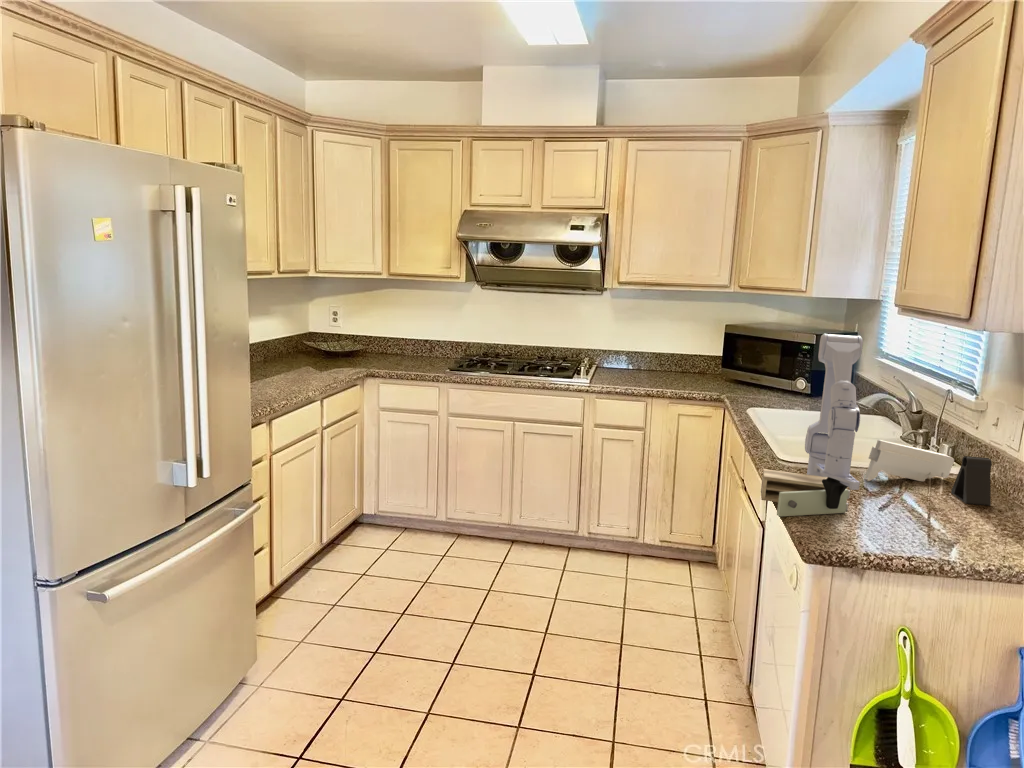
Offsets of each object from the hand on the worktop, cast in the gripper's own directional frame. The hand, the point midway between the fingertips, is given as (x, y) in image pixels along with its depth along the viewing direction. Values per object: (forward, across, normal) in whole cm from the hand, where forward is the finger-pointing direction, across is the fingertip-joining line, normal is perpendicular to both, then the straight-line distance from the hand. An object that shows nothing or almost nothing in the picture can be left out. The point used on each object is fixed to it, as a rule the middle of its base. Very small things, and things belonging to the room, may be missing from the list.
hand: (831, 507), depth 166 cm
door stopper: (+2, -8, +49) cm, 50 cm away
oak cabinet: (+2, -11, -1) cm, 11 cm away
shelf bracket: (+2, -25, +43) cm, 50 cm away
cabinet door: (+2, -1, -4) cm, 5 cm away
